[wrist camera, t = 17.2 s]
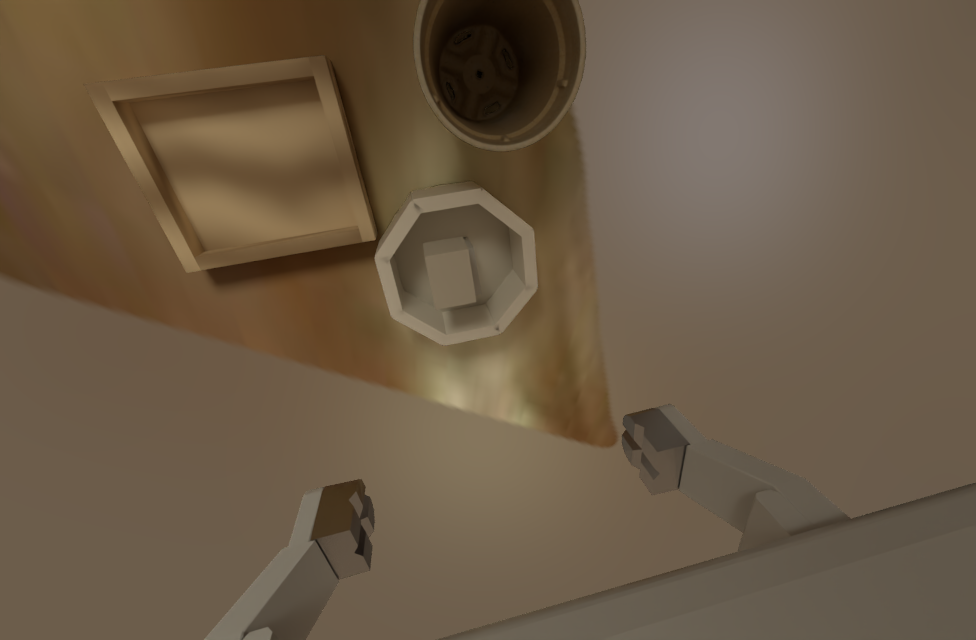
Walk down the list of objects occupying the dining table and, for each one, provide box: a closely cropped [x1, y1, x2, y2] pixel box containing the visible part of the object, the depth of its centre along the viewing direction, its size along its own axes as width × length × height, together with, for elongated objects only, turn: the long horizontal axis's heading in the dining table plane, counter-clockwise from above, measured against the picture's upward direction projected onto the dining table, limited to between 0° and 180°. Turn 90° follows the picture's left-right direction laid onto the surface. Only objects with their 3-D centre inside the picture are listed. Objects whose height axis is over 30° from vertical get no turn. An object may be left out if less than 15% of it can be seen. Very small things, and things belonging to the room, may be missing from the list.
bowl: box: [374, 181, 538, 346], centre depth 31 cm, size 12×12×5 cm
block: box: [423, 237, 476, 310], centre depth 27 cm, size 4×3×4 cm
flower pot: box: [413, 0, 586, 152], centre depth 24 cm, size 9×9×9 cm
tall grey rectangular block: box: [463, 237, 482, 296], centre depth 31 cm, size 4×3×4 cm
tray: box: [84, 55, 378, 273], centre depth 26 cm, size 12×14×2 cm
